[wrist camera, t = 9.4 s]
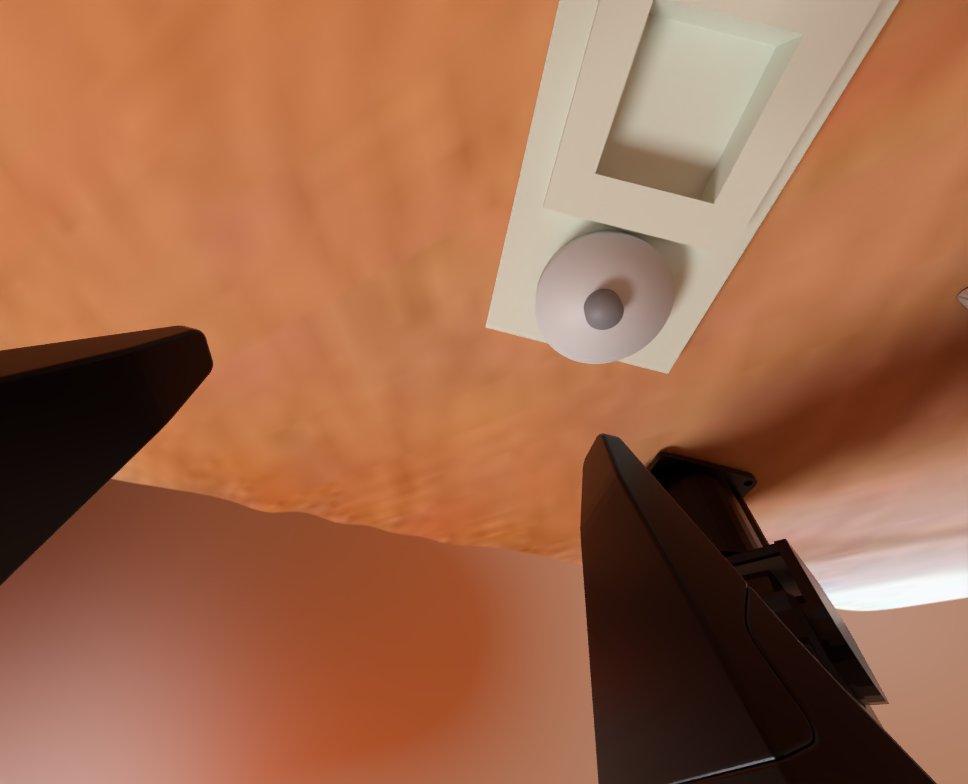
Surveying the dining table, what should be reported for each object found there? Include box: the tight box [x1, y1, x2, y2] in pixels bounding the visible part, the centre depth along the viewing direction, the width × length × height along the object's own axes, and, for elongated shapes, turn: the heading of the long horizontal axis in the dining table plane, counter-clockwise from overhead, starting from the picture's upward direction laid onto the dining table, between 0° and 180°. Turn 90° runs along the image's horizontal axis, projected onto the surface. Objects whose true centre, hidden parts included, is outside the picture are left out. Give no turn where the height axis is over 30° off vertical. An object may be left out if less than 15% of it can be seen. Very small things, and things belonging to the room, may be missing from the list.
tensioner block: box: [486, 0, 899, 374], centre depth 14 cm, size 10×14×3 cm
